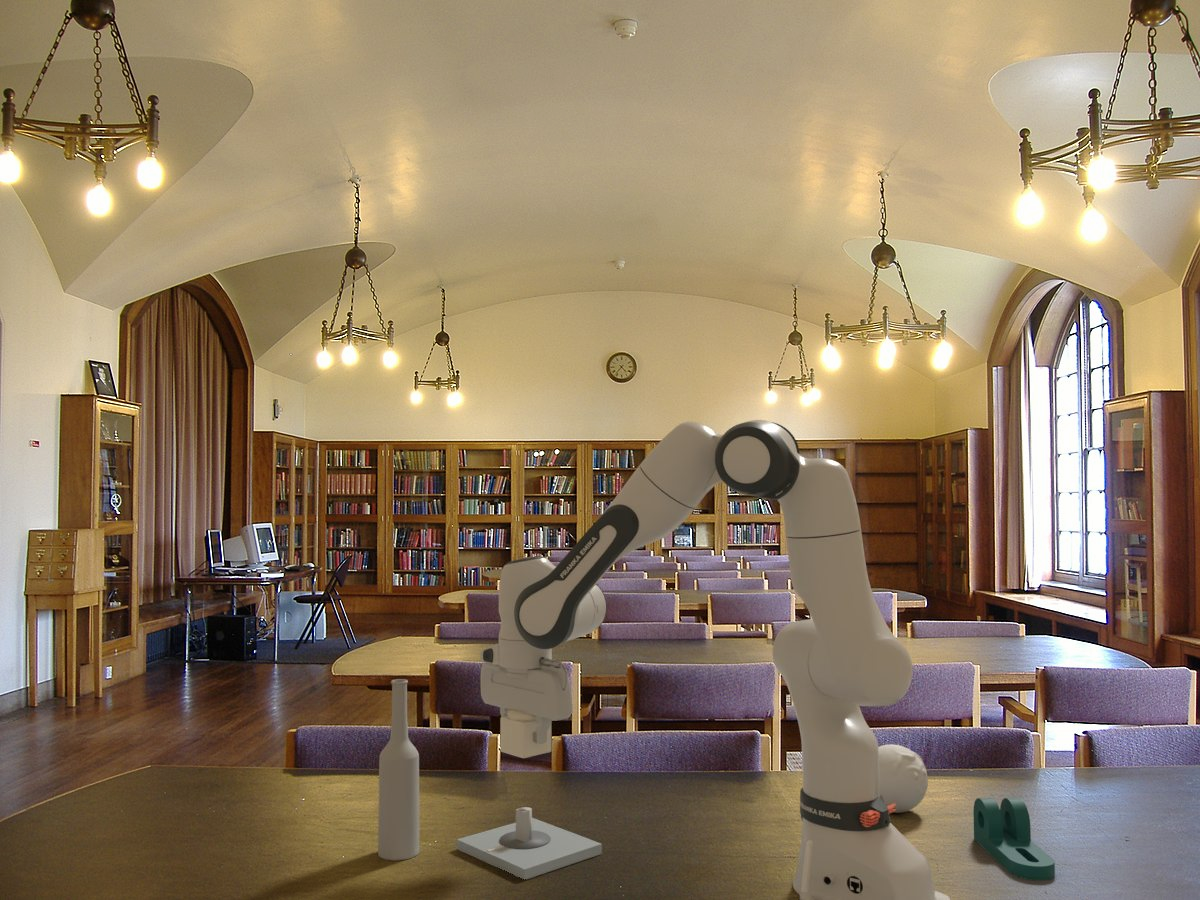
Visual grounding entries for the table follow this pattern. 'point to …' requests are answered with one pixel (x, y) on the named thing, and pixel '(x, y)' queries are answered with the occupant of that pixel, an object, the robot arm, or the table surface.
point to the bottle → (398, 786)
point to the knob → (521, 735)
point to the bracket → (1011, 838)
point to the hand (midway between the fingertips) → (525, 738)
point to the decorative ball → (901, 777)
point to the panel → (529, 846)
